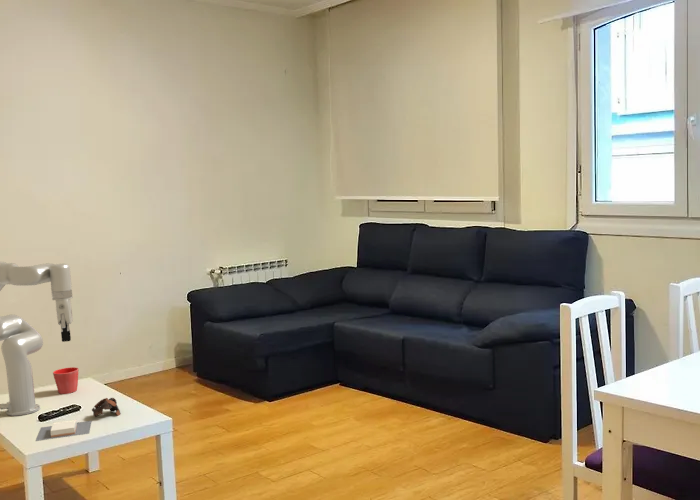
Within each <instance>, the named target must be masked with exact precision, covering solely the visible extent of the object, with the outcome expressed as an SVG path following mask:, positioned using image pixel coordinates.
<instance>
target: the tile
mask: <svg viewBox="0 0 700 500" xmlns="http://www.w3.org/2000/svg"><path fill="white" fill-rule="evenodd" d="M77 423H78V422H77V419H73V420H71V419H70V420H64V421H63V420H62V421H57V422H53V423H52V425H51V426H52V428H51V437H58V436H65V435H72V434H75V431H76V428H77Z"/></svg>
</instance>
